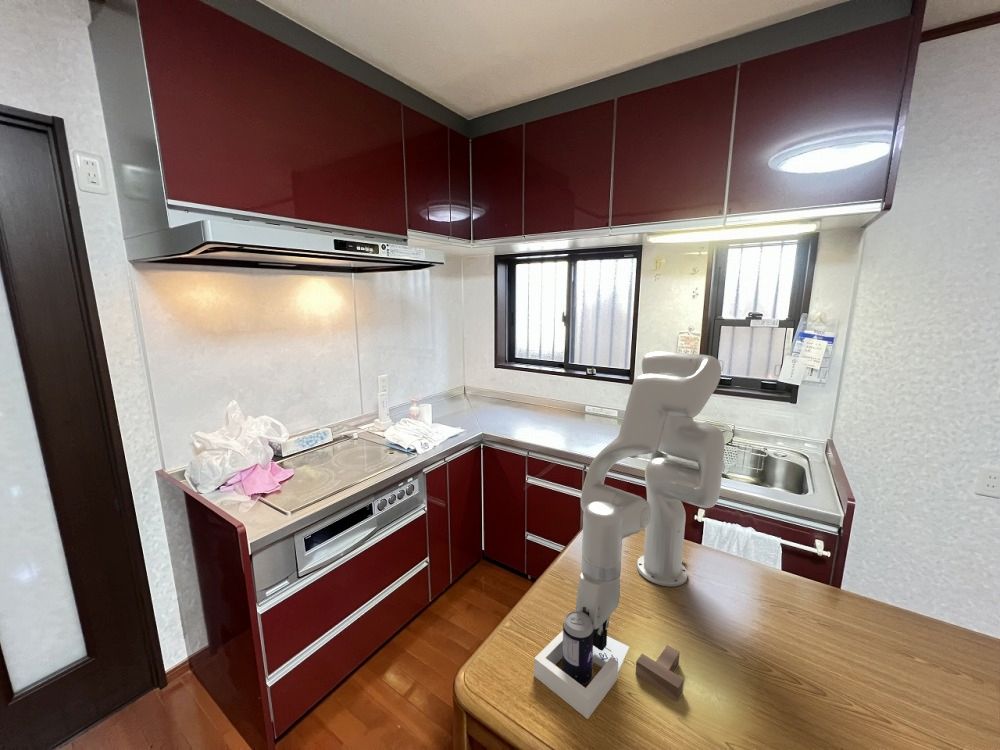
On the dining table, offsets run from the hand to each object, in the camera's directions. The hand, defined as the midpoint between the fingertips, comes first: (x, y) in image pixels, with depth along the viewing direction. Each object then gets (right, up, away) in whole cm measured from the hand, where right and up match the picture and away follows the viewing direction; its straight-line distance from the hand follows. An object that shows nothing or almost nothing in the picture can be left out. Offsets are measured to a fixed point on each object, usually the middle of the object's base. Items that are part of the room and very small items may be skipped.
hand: (597, 644), depth 83 cm
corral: (-6, -3, -6) cm, 8 cm away
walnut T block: (+12, -3, -5) cm, 13 cm away
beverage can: (-5, -3, -5) cm, 8 cm away
